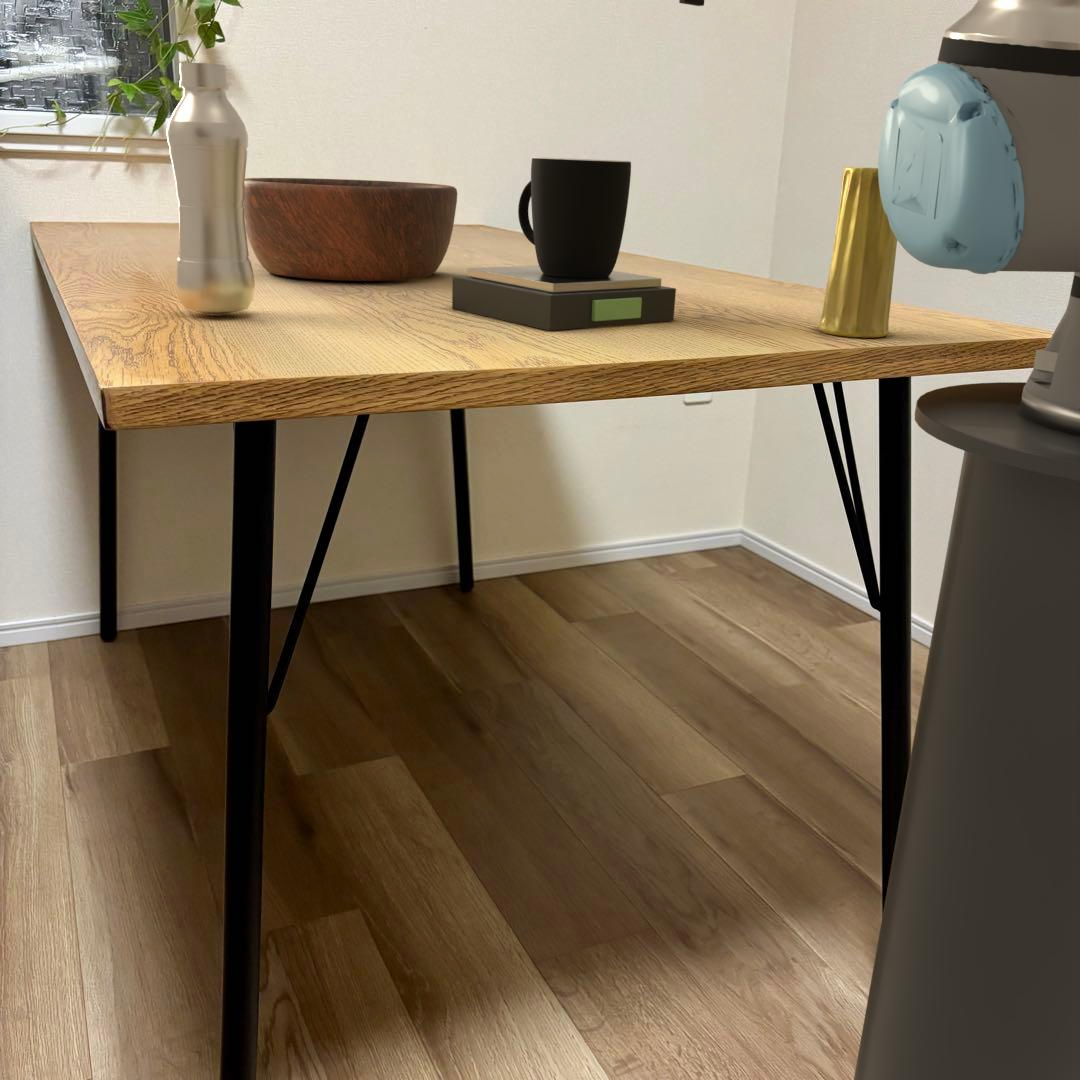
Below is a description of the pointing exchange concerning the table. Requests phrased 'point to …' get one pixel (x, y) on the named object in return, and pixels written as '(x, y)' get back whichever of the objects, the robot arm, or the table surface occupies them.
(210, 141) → the silver bottle
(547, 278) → the scale pan
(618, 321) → the scale
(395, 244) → the wooden bowl
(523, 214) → the mug
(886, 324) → the vase
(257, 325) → the table surface
